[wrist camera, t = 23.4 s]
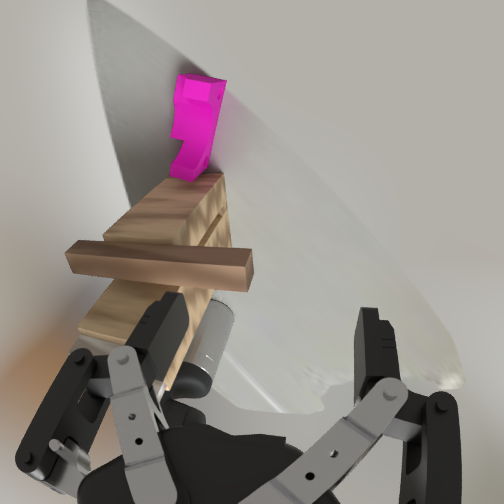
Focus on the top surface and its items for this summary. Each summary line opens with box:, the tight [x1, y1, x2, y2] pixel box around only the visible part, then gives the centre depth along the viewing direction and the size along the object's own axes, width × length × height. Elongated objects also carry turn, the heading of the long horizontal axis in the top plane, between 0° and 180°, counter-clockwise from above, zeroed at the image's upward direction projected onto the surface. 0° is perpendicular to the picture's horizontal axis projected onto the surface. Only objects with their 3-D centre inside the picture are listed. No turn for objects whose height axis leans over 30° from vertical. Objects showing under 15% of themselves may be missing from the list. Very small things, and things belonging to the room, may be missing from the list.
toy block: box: [170, 73, 227, 182], centre depth 44 cm, size 15×6×8 cm, turn 166°
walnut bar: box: [65, 240, 254, 292], centre depth 35 cm, size 3×24×3 cm, turn 94°
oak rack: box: [68, 173, 232, 402], centre depth 43 cm, size 16×10×34 cm, turn 4°
